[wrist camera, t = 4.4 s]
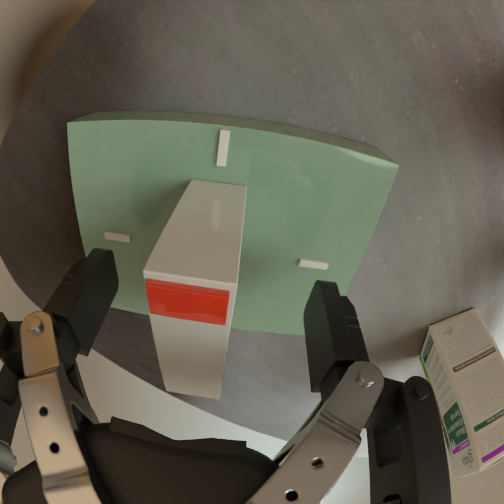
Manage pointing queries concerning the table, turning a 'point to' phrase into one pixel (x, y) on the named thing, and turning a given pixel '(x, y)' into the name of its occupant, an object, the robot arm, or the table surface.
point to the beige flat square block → (196, 286)
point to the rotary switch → (256, 210)
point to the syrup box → (467, 390)
